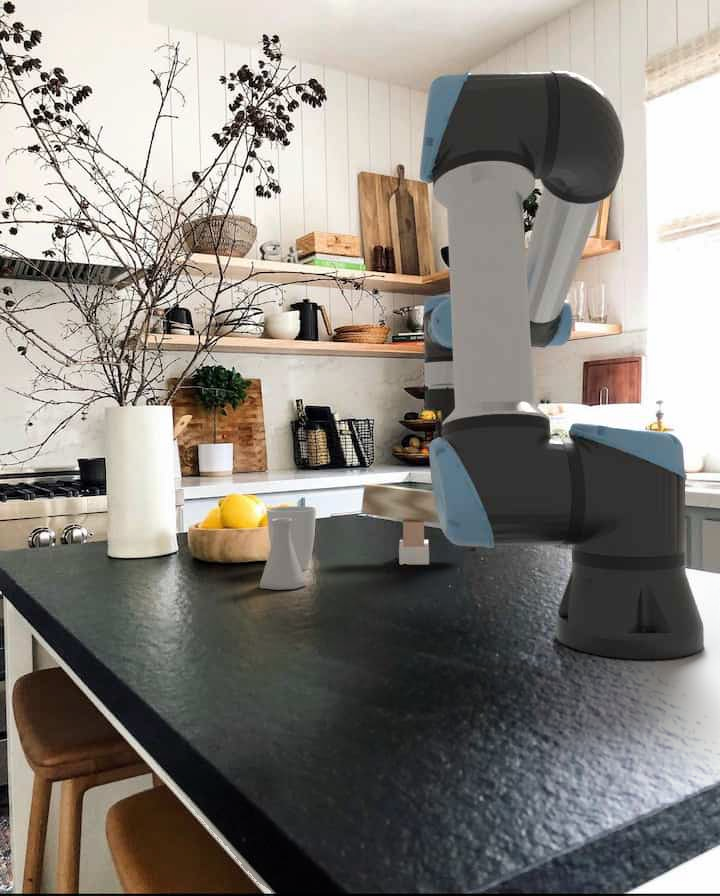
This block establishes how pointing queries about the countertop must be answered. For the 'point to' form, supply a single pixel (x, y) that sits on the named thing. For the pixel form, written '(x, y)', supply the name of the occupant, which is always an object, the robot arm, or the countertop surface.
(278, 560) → the flask
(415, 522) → the block
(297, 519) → the cup
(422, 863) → the countertop surface
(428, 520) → the bar
